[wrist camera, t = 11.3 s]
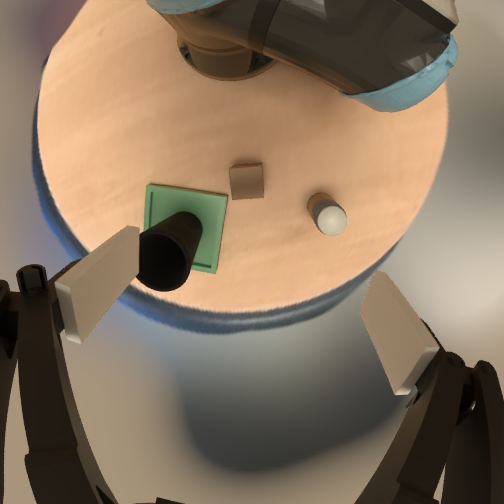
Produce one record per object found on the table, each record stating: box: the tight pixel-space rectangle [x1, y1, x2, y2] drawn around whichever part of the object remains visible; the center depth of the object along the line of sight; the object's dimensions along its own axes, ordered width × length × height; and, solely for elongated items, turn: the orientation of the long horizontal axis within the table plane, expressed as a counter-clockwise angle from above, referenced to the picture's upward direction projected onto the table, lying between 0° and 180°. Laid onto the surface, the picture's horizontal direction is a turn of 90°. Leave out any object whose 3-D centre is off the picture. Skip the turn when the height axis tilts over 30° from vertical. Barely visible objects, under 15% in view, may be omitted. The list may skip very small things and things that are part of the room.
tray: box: [144, 184, 228, 274], centre depth 42 cm, size 12×12×2 cm
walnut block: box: [229, 163, 264, 200], centre depth 37 cm, size 4×4×5 cm
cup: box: [136, 211, 203, 292], centre depth 36 cm, size 8×8×12 cm
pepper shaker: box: [307, 193, 347, 236], centre depth 37 cm, size 4×4×8 cm
